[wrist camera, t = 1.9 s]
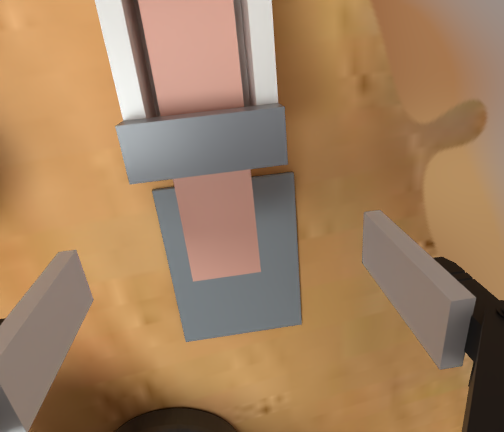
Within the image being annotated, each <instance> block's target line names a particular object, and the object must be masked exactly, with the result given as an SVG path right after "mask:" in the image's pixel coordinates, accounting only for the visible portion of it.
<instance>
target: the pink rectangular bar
mask: <svg viewBox="0 0 504 432" xmlns="http://www.w3.org/2000/svg"><path fill="white" fill-rule="evenodd" d="M138 3H139V8H140V14H141V19H142V24H143V29H144V34H145V39H146V44H147V49H148V54H149V59H150V65H151V70H152V75H153V80H154V85H155V90H156V95H157V100H158V105H159V111H160V116H169V115H178V114H187V113H195V112H204V111H213V110H222V109H230V108H239V107H244V101H243V91H242V81H241V72H240V62H239V52H238V42H237V33H236V23H235V13H234V3H233V0H138ZM173 182H174V187H175V192H176V197H177V202H178V207H179V213H180V218H181V223H182V228H183V233H184V238H185V243H186V248H187V253H188V259H189V264H190V269H191V274H192V279H193V282H194V281H201V280H208V279H215V278H222V277H229V276H236V275H243V274H250V273H257V272H261V267H260V257H259V247H258V238H257V228H256V218H255V208H254V198H253V189H252V179H251V169H248V170H240V171H232V172H224V173H216V174H208V175H200V176H192V177H184V178H176V179H173Z"/></svg>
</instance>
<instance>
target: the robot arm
mask: <svg viewBox="0 0 504 432" xmlns="http://www.w3.org/2000/svg"><path fill="white" fill-rule="evenodd" d="M362 263H363V265H364V266H365V267H366V269H367V270H368V272H369V273H370V274H371V276H372V277H373V278H374V280H375V281H376V283H377V284H378V285H379V287H380V288H381V289H382V291H383V292H384V294H385V295H386V296H387V298H388V299H389V300H390V302H391V303H392V305H393V306H394V307H395V309H396V310H397V312H398V313H399V314H400V316H401V317H402V318H403V320H404V321H405V323H406V324H407V325H408V327H409V328H410V329H411V331H412V332H413V334H414V335H415V336H416V338H417V339H418V340H419V342H420V343H421V345H422V346H423V347H424V349H425V350H426V351H427V353H428V354H429V356H430V357H431V358H432V360H433V361H434V362H435V364H436V365H437V367H438V368H439V369H447V368H453V367H459V366H462V365H463V360H464V355H465V352H466V353H467V354H468V356H469V357H470V358H471V359H472V360H473V361H474V362H473V367H472V371H471V376H470V380H469V385H468V386H469V390H468V397H467V403H466V409H465V415H464V421H463V427H462V432H504V301H503V300H498V299H497V298H496V297H495V296H494V295H492V294H491V293H490V292H489V291H488V290H487V289H485V288H484V287H483V286H482V285H481V284H479V283H478V282H477V281H476V280H475V279H472V277H471V276H470V275H469V274H468V273H465V271H464V270H463V269H462V268H461V267H459V266H458V265H457V264H456V263H454V262H452V261H450V260H448V259H445V258H444V257H437V258H432V257H431V256H430V255H429V254H428V253H427V252H426V251H425V250H423V249H422V248H421V247H420V246H419V245H418V244H417V243H416V242H415V241H414V240H412V239H411V238H410V237H409V236H408V235H407V234H406V233H405V232H404V231H403V230H401V229H400V228H399V227H398V226H397V225H396V224H395V223H394V222H393V221H392V220H391V219H389V218H388V217H387V216H386V215H385V214H384V213H383V212H382V211H381V210H376V211H368V212H364V225H363V251H362ZM92 302H93V297H92V294H91V291H90V288H89V285H88V282H87V280H86V277H85V274H84V271H83V268H82V265H81V262H80V259H79V256H78V254H77V251H76V250H70V251H63V252H58V253H57V255H56V256H55V257H54V258H53V260H52V261H51V262H50V263H49V265H48V266H47V267H46V268H45V270H44V271H43V272H42V274H41V275H40V276H39V277H38V279H37V280H36V281H35V282H34V284H33V285H32V286H31V287H30V289H29V290H28V291H27V292H26V294H25V295H24V296H23V297H22V299H21V300H20V301H19V302H18V304H17V305H16V306H15V307H14V309H13V310H12V311H11V312H10V314H9V315H8V316H7V317H6V318H5V319H0V432H28V431H29V429H30V427H31V425H32V423H33V421H34V419H35V417H36V415H37V413H38V411H39V409H40V407H41V405H42V403H43V401H44V399H45V397H46V395H47V393H48V391H49V389H50V387H51V385H52V383H53V381H54V379H55V377H56V375H57V373H58V371H59V369H60V367H61V365H62V363H63V361H64V359H65V357H66V355H67V353H68V350H69V348H70V346H71V344H72V342H73V340H74V338H75V336H76V334H77V332H78V330H79V328H80V326H81V324H82V322H83V320H84V318H85V316H86V314H87V312H88V310H89V308H90V306H91V304H92ZM115 432H236V431H235V429H234V428H233V427H232V426H231V425H230V424H228V423H227V422H226V421H224V420H223V419H221V418H219V417H217V416H215V415H213V414H210V413H207V412H204V411H199V410H194V409H184V408H173V409H163V410H157V411H153V412H149V413H146V414H143V415H140V416H138V417H136V418H134V419H132V420H130V421H128V422H127V423H125V424H124V425H122V426H121V427H120V428H119V429H117V430H116V431H115Z"/></svg>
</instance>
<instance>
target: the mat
mask: <svg viewBox="0 0 504 432" xmlns="http://www.w3.org/2000/svg"><path fill="white" fill-rule="evenodd" d="M251 179H252V189H253V198H254V208H255V218H256V228H257V238H258V247H259V257H260V267H261V272H257V273H250V274H243V275H236V276H229V277H222V278H215V279H208V280H201V281H194V282H193V279H192V274H191V269H190V264H189V259H188V253H187V248H186V243H185V238H184V233H183V228H182V223H181V218H180V213H179V207H178V202H177V197H176V192H175V187H169V188H161V189H153V190H152V193H153V197H154V201H155V206H156V210H157V215H158V219H159V224H160V228H161V233H162V237H163V242H164V246H165V251H166V255H167V260H168V264H169V268H170V273H171V277H172V282H173V286H174V291H175V295H176V300H177V304H178V309H179V313H180V318H181V322H182V327H183V331H184V336H185V340H186V342H189V341H196V340H203V339H209V338H216V337H222V336H229V335H235V334H242V333H248V332H255V331H261V330H268V329H274V328H281V327H287V326H294V325H300V324H302V322H301V303H300V283H299V264H298V245H297V225H296V206H295V187H294V173H293V172H287V173H279V174H271V175H263V176H255V177H251Z"/></svg>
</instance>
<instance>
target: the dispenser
mask: <svg viewBox="0 0 504 432" xmlns="http://www.w3.org/2000/svg"><path fill="white" fill-rule="evenodd" d="M95 3H96V8H97V12H98V16H99V20H100V24H101V29H102V33H103V37H104V41H105V45H106V50H107V54H108V58H109V62H110V66H111V71H112V75H113V79H114V83H115V87H116V92H117V96H118V100H119V104H120V108H121V113H122V117H123V121H122V122H121V123H119V124H118V125H116V126H115V127H116V131H117V135H118V139H119V143H120V147H121V151H122V155H123V159H124V163H125V167H126V171H127V175H128V179H129V183H130V184H136V183H144V182H152V181H160V180H168V179H176V178H184V177H192V176H200V175H208V174H216V173H224V172H232V171H240V170H248V169H256V168H264V167H272V166H280V165H288V157H287V140H286V123H285V107H284V106H283V105H281V104H279V103H278V91H277V76H276V60H275V45H274V29H273V14H272V0H233V3H234V13H235V23H236V33H237V42H238V52H239V62H240V72H241V81H242V91H243V101H244V107H239V108H230V109H222V110H213V111H204V112H195V113H187V114H178V115H169V116H160V111H159V105H158V100H157V95H156V90H155V85H154V80H153V75H152V70H151V65H150V59H149V54H148V49H147V44H146V39H145V34H144V29H143V24H142V19H141V14H140V8H139V3H138V0H95Z"/></svg>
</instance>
